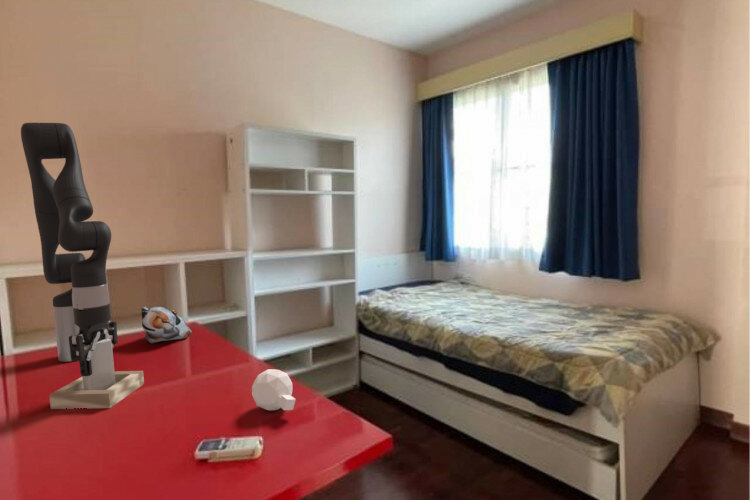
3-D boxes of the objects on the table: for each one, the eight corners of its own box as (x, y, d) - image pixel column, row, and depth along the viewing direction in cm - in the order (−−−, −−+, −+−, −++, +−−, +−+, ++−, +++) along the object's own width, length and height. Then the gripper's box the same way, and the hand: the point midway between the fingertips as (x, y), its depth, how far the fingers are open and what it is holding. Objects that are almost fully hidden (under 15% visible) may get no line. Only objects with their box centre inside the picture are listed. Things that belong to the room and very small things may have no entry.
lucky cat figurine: (199, 335, 156) (189, 303, 148) (167, 359, 147) (153, 326, 138) (171, 318, 164) (159, 286, 155) (138, 340, 155) (124, 307, 146)
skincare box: (110, 382, 110) (106, 336, 109) (116, 387, 107) (112, 339, 106) (82, 390, 105) (77, 342, 104) (88, 395, 102) (83, 345, 101)
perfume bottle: (239, 401, 96) (266, 425, 87) (251, 361, 96) (279, 382, 88) (272, 400, 102) (300, 423, 93) (283, 363, 102) (312, 382, 94)
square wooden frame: (91, 384, 113) (90, 372, 113) (144, 383, 113) (143, 370, 112) (50, 409, 99) (49, 394, 99) (110, 408, 99) (108, 393, 98)
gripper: (96, 298, 111) (101, 360, 113) (53, 310, 97) (60, 381, 98) (124, 297, 111) (129, 359, 112) (86, 310, 97) (92, 380, 98)
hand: (97, 369), depth 105 cm, fingers closed on skincare box, 7 cm apart
